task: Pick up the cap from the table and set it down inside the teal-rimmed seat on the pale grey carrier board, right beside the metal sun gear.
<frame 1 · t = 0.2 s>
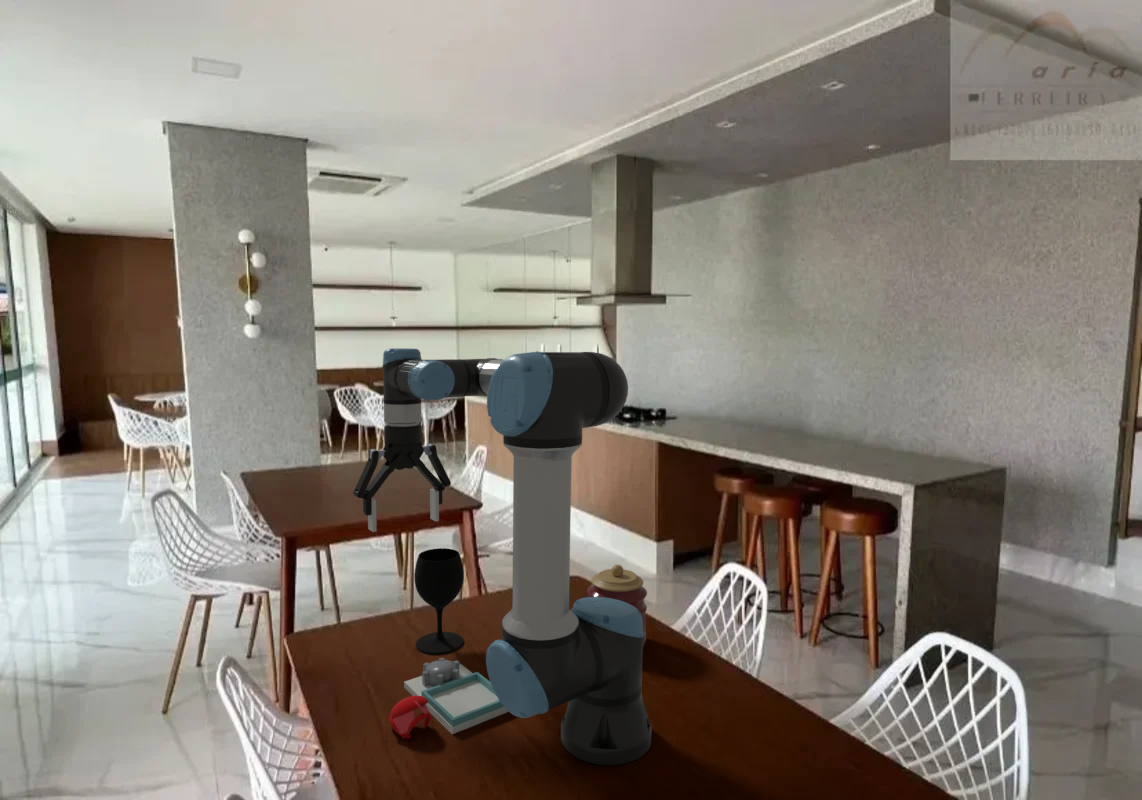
hand: (404, 525, 140), 28 cm above the table, tool pointing down, fingers open, 13 cm apart
wine glass: (439, 644, 147), on the table
carrier board: (456, 698, 125), on the table
canister: (616, 643, 148), on the table
cap: (410, 731, 115), on the table
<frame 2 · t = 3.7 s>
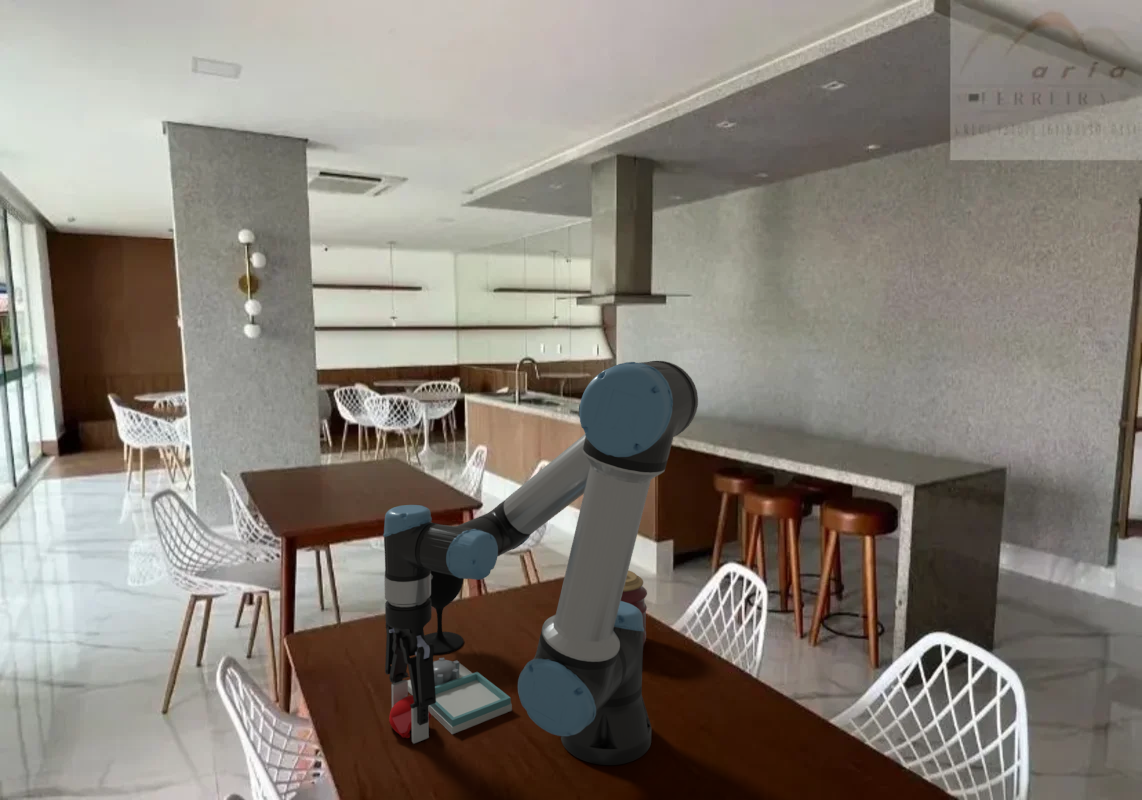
hand: (409, 728, 115), 0 cm above the table, tool pointing down, fingers closed on cap, 7 cm apart
cap: (410, 730, 115), on the table, touching gripper
everything else where it was.
when the fingers open (3 cm above the table, at t = 8.7 s): cap drops 2 cm, resting on carrier board.
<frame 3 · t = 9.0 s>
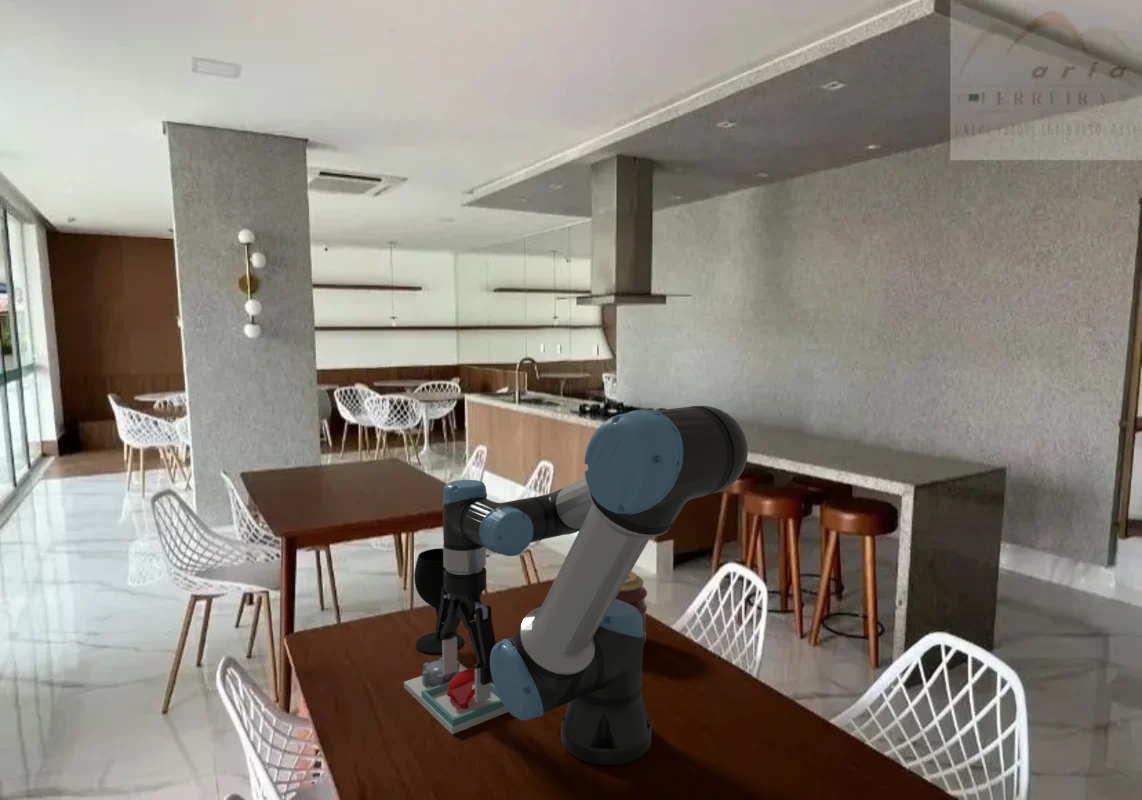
hand: (465, 685, 122), 4 cm above the table, tool pointing down, fingers open, 11 cm apart
cap: (466, 702, 122), point 1 cm above the table, touching carrier board
everything else where it was.
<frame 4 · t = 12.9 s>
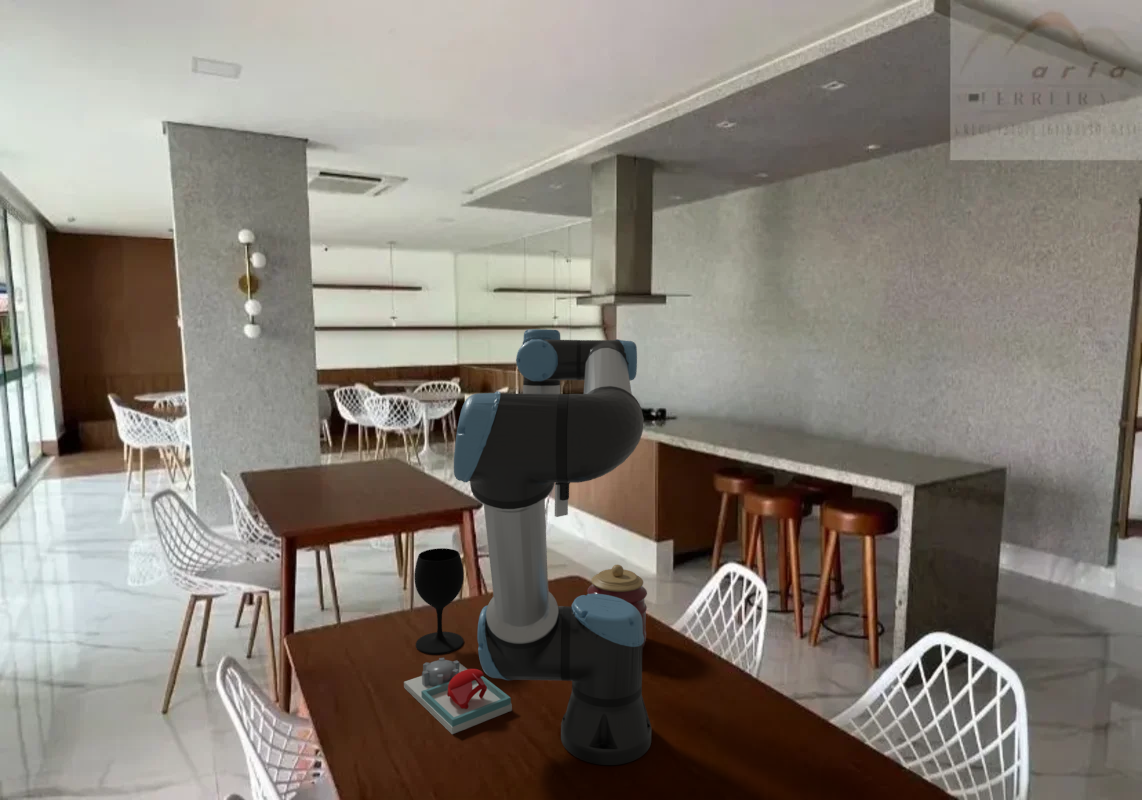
hand: (541, 508, 138), 32 cm above the table, tool pointing down, fingers open, 13 cm apart
nothing on the table moved.
at the end: cap 0.3 cm from the target spot on the carrier board, point 1.0 cm above the carrier board's base; cap tilted 1°; the gripper is holding nothing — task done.
